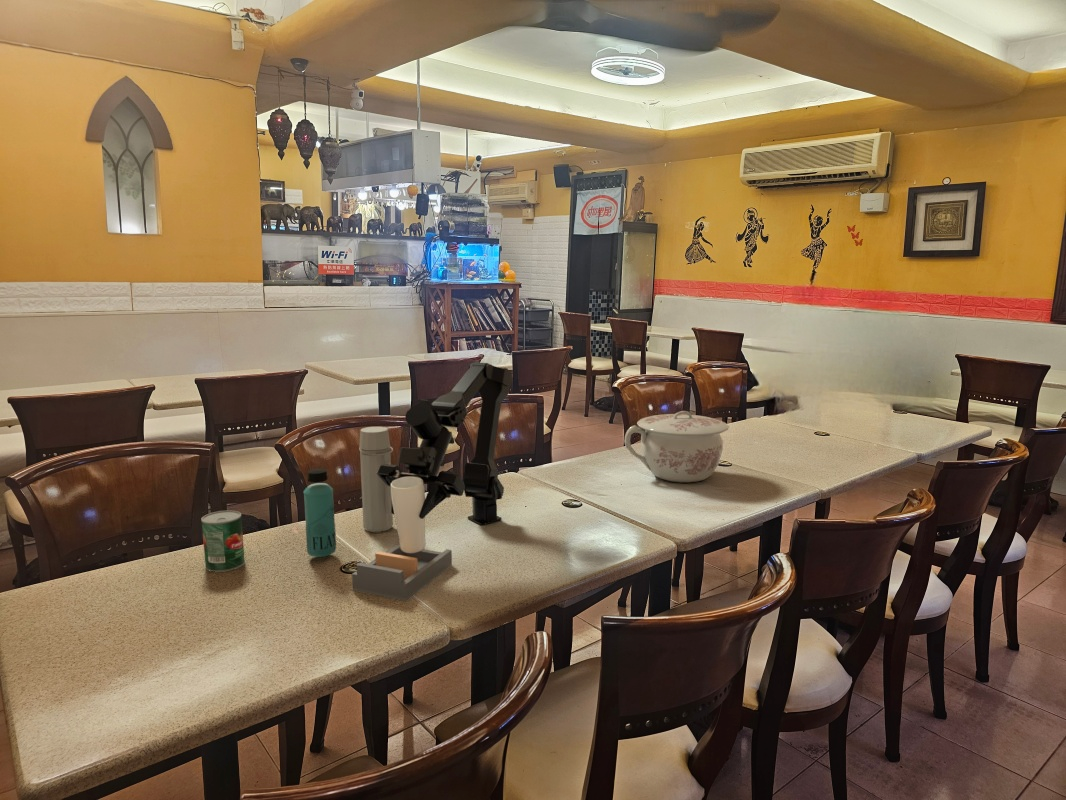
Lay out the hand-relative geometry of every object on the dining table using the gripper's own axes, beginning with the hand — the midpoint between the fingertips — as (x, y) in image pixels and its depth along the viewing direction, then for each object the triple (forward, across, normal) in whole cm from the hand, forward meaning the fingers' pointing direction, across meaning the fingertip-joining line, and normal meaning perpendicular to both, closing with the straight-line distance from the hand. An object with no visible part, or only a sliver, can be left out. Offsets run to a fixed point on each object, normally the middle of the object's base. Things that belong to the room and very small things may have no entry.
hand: (406, 515), depth 146 cm
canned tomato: (+17, -39, +1) cm, 43 cm away
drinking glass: (+4, 0, +7) cm, 8 cm away
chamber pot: (-56, +39, +76) cm, 102 cm away
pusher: (+12, 0, +5) cm, 13 cm away
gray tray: (+10, 0, +8) cm, 13 cm away
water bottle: (-5, -20, +23) cm, 31 cm away
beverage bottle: (+9, -22, +9) cm, 26 cm away
